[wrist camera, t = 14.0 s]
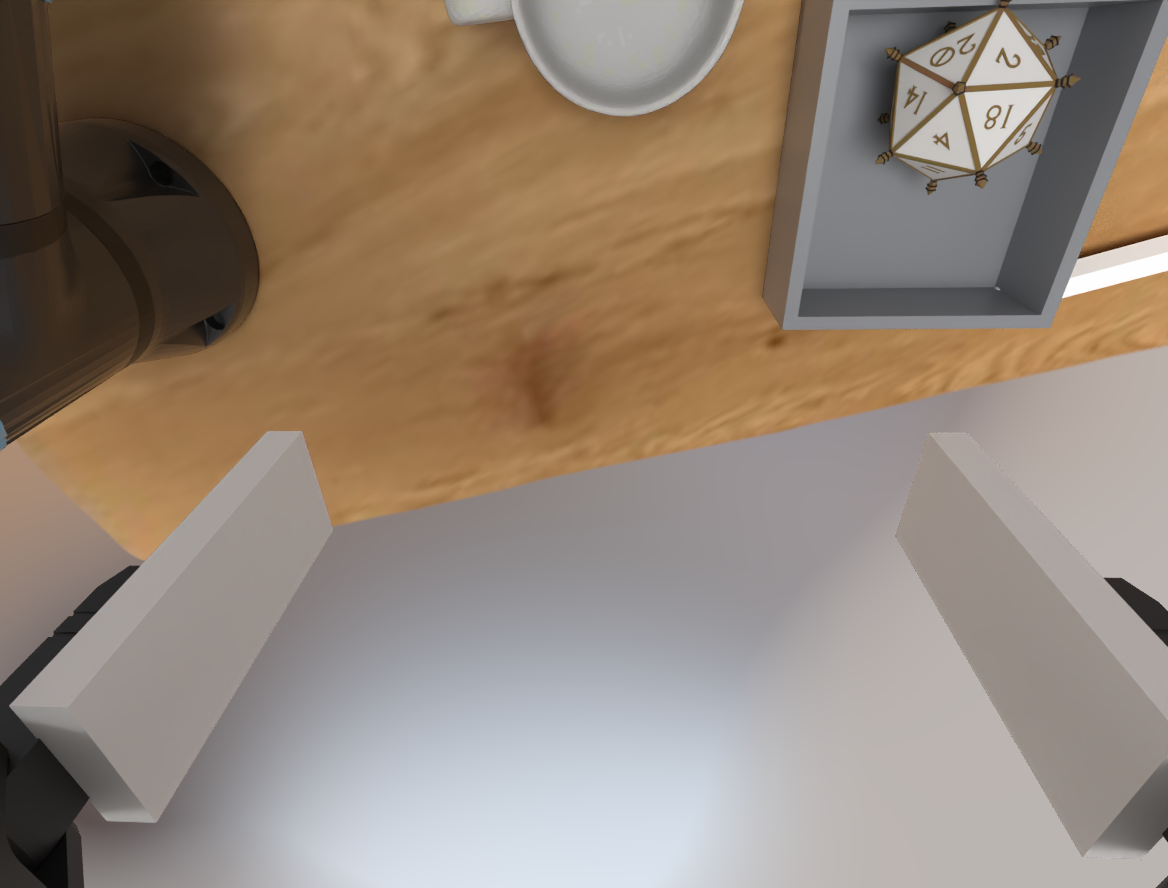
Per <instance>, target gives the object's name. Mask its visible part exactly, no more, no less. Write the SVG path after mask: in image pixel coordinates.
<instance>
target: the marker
mask: <svg viewBox="0 0 1168 888" xmlns="http://www.w3.org/2000/svg"><path fill="white" fill-rule="evenodd" d="M1164 271H1168V235H1165V236H1161V237H1157V238H1154V239H1150V240H1146V241H1143V242H1139V243H1135V244H1132V245H1128V246H1124V247H1121V248H1117V249H1113V250H1110V251H1106V252H1102V253H1099V254H1095V255H1091V256H1088V257H1084V258H1080V259H1077V262H1076V264H1075V267H1074V269H1073V272H1072V274H1071V277H1070V279H1069V282H1068V284H1067V287H1066V289H1065V292H1064V294H1063V297H1062V298H1065V297H1069V296H1073V295H1077V294H1081V293H1084V292H1088V291H1092V290H1096V289H1100V288H1103V287H1107V286H1111V285H1115V284H1119V283H1122V282H1126V281H1130V280H1134V279H1138V278H1142V277H1145V276H1149V275H1153V274H1157V273H1161V272H1164ZM994 288H995V289H997V290H1000V289H999V287H994Z"/></svg>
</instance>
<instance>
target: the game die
mask: <svg viewBox="0 0 1168 888" xmlns="http://www.w3.org/2000/svg"><path fill="white" fill-rule="evenodd" d="M1010 1H1012V0H1000V5H999V6H998V7H996V8H994V9H992V10H990V11H988V12H986V13H984V14H982V15H980V16H978V17H976V18H974V19H972V20H970V21H968V22H966V23H964V24H962V25H960V26H958V27H956V23H953V22H950V21H948V23H947V25H946V27H945V28H944V30H945V34H943V35H941V36H939V37H937V38H935V39H933V40H931V41H929V42H927V43H925V44H923V45H921V46H919V47H917V48H915V49H913V50H911V51H909V52H907V53H905V54H903V55H902V54H901V53H900V50H899V49H898V50H897V49H896V47H893V48H885V50H886V54H887V59H888V58H889V59H891V61H893V60H894V61H897V68H896V75H895V81H894V88H893V95H892V102H891V109H890V114H888V113H885V114H883V113H882V114H881V116H880V117H879V118H878V119H877V121H878V122H880V123H881V124H883V123H887V122H889V151H888V152H883V153H882V154H881V155H878V158H877V160H876V162H875V164H885V162H887V161H889V159H890V158H891V157H892V156H893V157H895V158H897V159H898V160H900V161H902V162H903V163H905V164H906V165H908V166H910V167H911V168H913V169H915V170H916V171H918V172H919V173H921V174H923V175H924V176H926V177H928V178H929V179H931V181H930V182H929V183H927V187H926V188H925V189H926V190H927V193H928V195H929V194H931V193H932V192H934V191H936V187H937V181H940V180H946V179H953V178H959V177H965V176H972V175H976V177H975V180H974V181H976V183H975V186H978V187H980V188H982V189H983V188H984V186H985V184H986V183H987V182H988V181H989V180H988V179H987V178H986V177H987V175H985V174H984V172H985V171H987V170H988V169H990V168H992V167H993V166H995V165H997V164H998V163H1000V162H1002V161H1003V160H1005V159H1007V158H1009V157H1010V156H1012V155H1014V154H1015V153H1017V152H1019V151H1020V150H1022V149H1024V148H1027V150H1028V152H1030V153H1031V155H1033V154H1042V151H1041V145H1042V144H1038V142H1035V143H1034V142H1032V139H1033V137H1034V134H1035V132H1036V130H1037V128H1038V126H1039V124H1040V122H1041V120H1042V118H1043V116H1044V114H1045V112H1046V110H1047V107H1048V105H1049V103H1050V101H1051V99H1052V97H1053V95H1054V93H1055V91H1056V89H1057V88H1058V87H1062V88H1063V89H1065V88H1066V87H1069V88H1071V87H1072V85H1073V84H1075V83H1076V82H1077V81H1079V80H1080V79H1081V78H1079V77H1077V76H1075V75H1074V73H1072V74H1070V75H1069V76H1067V75H1065V76H1064V77H1062V78H1061V79H1058V77H1057V74H1056V72H1055V69H1054V67H1053V64H1052V62H1051V59H1050V56H1049V54H1048V51H1047V49H1048V50H1050V49H1052V48H1054V47H1055V46H1057V45H1059V41H1060V39H1061V37H1062V36H1053V35H1051V37H1050V38H1049V39H1046V42H1045V43H1044V44H1043V43H1042V42H1041V41H1040V40H1039V39H1038V38H1037V37H1036V36H1035V35H1034V34H1033V33H1032V32H1031V31H1030V30H1029V29H1028V28H1027V27H1026V26H1025V25H1024V24H1023V23H1022V22H1021V21H1020V20H1019V19H1018V17H1017V16H1016V15H1015V14H1014V13H1013V12H1012V11H1011V10H1010V9H1009V8H1008V4H1009V3H1010Z"/></svg>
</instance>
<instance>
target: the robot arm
mask: <svg viewBox="0 0 1168 888" xmlns="http://www.w3.org/2000/svg"><path fill="white" fill-rule="evenodd" d="M47 3H50V4H52V0H0V451H1V450H2V449H4V448H5V447H6V446H7V445H8V444H10V443H11V442H13V441H14V440H16V439H17V438H19V437H20V436H22V435H23V434H25V433H26V432H28V431H29V430H31V429H32V428H34V427H36V426H37V425H39V424H40V423H42V422H43V421H45V420H46V419H48V418H49V417H51V416H52V415H54V414H55V413H57V412H58V411H60V410H61V409H63V408H64V407H66V406H67V405H69V404H71V403H72V402H74V401H75V400H77V399H78V398H80V397H81V396H83V395H84V394H86V393H87V392H89V391H90V390H92V389H93V388H95V387H96V386H98V385H99V384H101V383H102V382H104V381H106V380H107V379H109V378H110V377H112V376H113V375H115V374H116V373H117V372H119V371H121V370H122V369H124V368H125V367H127V366H129V365H130V364H133V363H139V362H146V361H152V360H158V359H164V358H171V357H177V356H183V355H188V354H192V353H196V352H198V351H201V350H203V349H206V348H208V347H210V346H212V345H214V344H215V343H217V342H218V341H220V340H221V339H223V338H224V337H225V336H227V335H228V334H230V333H231V332H232V331H234V330H235V329H236V328H237V327H238V326H239V325H240V324H241V323H242V322H243V321H244V320H245V318H246V317H247V315H248V314H249V312H250V310H251V308H252V306H253V303H254V300H255V297H256V293H257V288H258V261H257V255H256V250H255V246H254V242H253V239H252V236H251V233H250V231H249V228H248V226H247V224H246V222H245V220H244V217H243V215H242V214H241V212H240V210H239V208H238V206H237V205H236V203H235V202H234V200H233V199H232V197H231V196H230V194H229V193H228V192H227V190H226V189H225V188H224V186H223V185H222V184H221V183H220V181H219V180H218V179H217V178H216V177H215V176H214V175H213V174H212V173H211V172H210V171H209V170H208V169H207V168H206V167H205V166H204V165H203V164H202V163H201V162H200V161H199V160H198V159H197V158H195V157H194V156H193V155H192V154H190V153H189V152H188V151H186V150H185V149H184V148H182V147H181V146H179V145H178V144H176V143H175V142H173V141H172V140H170V139H168V138H166V137H165V136H163V135H161V134H159V133H157V132H155V131H153V130H150V129H148V128H145V127H143V126H140V125H137V124H134V123H130V122H126V121H122V120H116V119H108V118H91V119H81V120H73V121H65V122H59V123H58V116H57V105H56V94H55V84H54V73H53V62H52V52H51V41H50V30H49V19H48V9H47ZM332 531H333V528H332V525H331V521H330V518H329V515H328V512H327V509H326V506H325V503H324V499H323V496H322V493H321V490H320V487H319V484H318V480H317V477H316V474H315V471H314V468H313V465H312V461H311V458H310V455H309V452H308V449H307V446H306V442H305V439H304V436H303V433H302V431H267V432H266V433H265V434H264V435H263V436H262V437H261V439H260V440H259V441H258V442H257V443H256V444H255V445H254V446H253V447H252V448H251V449H250V450H249V451H248V452H247V453H246V454H245V456H244V457H243V458H242V459H241V460H240V461H239V462H238V463H237V464H236V465H235V466H234V467H233V468H232V469H231V470H230V471H229V473H228V474H227V475H226V476H225V477H224V478H223V479H222V480H221V481H220V482H219V483H218V484H217V485H216V486H215V487H214V489H213V490H212V491H211V492H210V493H209V494H208V495H207V496H206V497H205V498H204V499H203V500H202V501H201V502H200V503H199V504H198V506H197V507H196V508H195V509H194V510H193V511H192V512H191V513H190V514H189V515H188V516H187V517H186V518H185V519H184V520H183V521H182V523H181V524H180V525H179V526H178V527H177V528H176V529H175V530H174V531H173V532H172V533H171V534H170V535H169V536H168V537H167V538H166V540H165V541H164V542H163V543H162V544H161V545H160V546H159V547H158V548H157V549H156V550H155V551H154V552H153V553H152V554H151V555H150V557H149V558H148V559H147V560H146V561H145V562H144V563H143V564H142V565H141V566H129V567H127V568H126V569H124V570H123V571H121V572H120V573H118V574H117V575H115V576H114V577H112V578H110V579H109V580H107V581H106V582H104V583H103V584H101V585H100V586H98V587H97V588H96V589H95V590H94V591H93V592H92V593H91V594H90V595H89V596H88V597H87V598H86V599H85V600H84V601H83V602H82V604H80V605H79V606H78V607H77V609H75V610H74V615H73V616H69V617H68V618H67V619H66V620H65V621H64V622H63V623H62V624H61V625H60V626H59V627H58V628H57V629H56V630H55V631H54V635H53V637H48V638H47V639H46V640H45V641H44V642H43V643H42V644H41V645H40V646H39V647H38V648H37V649H36V650H35V651H34V652H33V653H32V654H31V655H30V656H29V657H28V658H27V659H26V660H25V661H24V662H23V663H22V664H21V665H20V666H19V667H18V668H17V669H16V670H15V671H14V672H13V674H11V675H10V676H9V677H8V679H7V680H6V681H5V682H4V683H3V684H2V685H1V686H0V888H84V878H83V863H82V846H81V836H80V833H79V831H78V828H77V826H76V824H75V823H74V822H73V820H74V819H75V817H76V816H77V815H78V813H79V812H80V811H81V809H82V807H83V806H84V805H85V804H86V802H87V801H88V799H89V801H90V802H91V803H92V804H93V805H94V806H95V808H96V809H97V810H98V811H99V812H100V813H101V815H102V816H103V817H104V818H105V819H106V820H107V821H124V822H153V823H156V822H157V821H158V819H159V818H160V816H161V814H162V813H163V811H164V809H165V808H166V806H167V804H168V803H169V801H170V799H171V798H172V796H173V794H174V793H175V791H176V789H177V788H178V786H179V784H180V783H181V781H182V779H183V778H184V776H185V775H186V773H187V771H188V770H189V768H190V766H191V765H192V763H193V761H194V759H195V758H196V756H197V755H198V753H199V751H200V750H201V748H202V746H203V745H204V743H205V741H206V740H207V738H208V736H209V735H210V733H211V731H212V730H213V728H214V726H215V725H216V723H217V722H218V720H219V718H220V717H221V715H222V713H223V712H224V710H225V708H226V707H227V705H228V703H229V702H230V700H231V698H232V697H233V695H234V693H235V692H236V690H237V688H238V687H239V685H240V683H241V682H242V680H243V678H244V677H245V675H246V673H247V672H248V670H249V668H250V667H251V665H252V663H253V662H254V660H255V659H256V657H257V655H258V654H259V652H260V650H261V649H262V647H263V645H264V644H265V642H266V640H267V639H268V637H269V635H270V634H271V632H272V630H273V629H274V627H275V625H276V624H277V622H278V620H279V619H280V617H281V615H282V614H283V612H284V611H285V609H286V607H287V606H288V604H289V602H290V601H291V599H292V597H293V595H294V594H295V592H296V591H297V589H298V587H299V586H300V584H301V582H302V581H303V579H304V577H305V576H306V574H307V572H308V571H309V569H310V568H311V566H312V564H313V563H314V561H315V559H316V558H317V556H318V554H319V552H320V551H321V549H322V548H323V546H324V544H325V543H326V541H327V539H328V538H329V536H330V534H331V533H332ZM896 538H897V540H898V541H899V543H900V545H901V547H902V548H903V550H904V552H905V554H906V555H907V557H908V559H909V560H910V562H911V564H912V566H913V567H914V569H915V571H916V572H917V574H918V576H919V578H920V579H921V581H922V583H923V584H924V586H925V588H926V589H927V591H928V593H929V595H930V596H931V598H932V600H933V601H934V603H935V605H936V607H937V609H938V610H939V612H940V614H941V615H942V617H943V619H944V621H945V622H946V624H947V626H948V627H949V629H950V631H951V632H952V634H953V636H954V638H955V639H956V641H957V643H958V645H959V646H960V648H961V650H962V652H963V653H964V655H965V657H966V658H967V660H968V662H969V663H970V665H971V667H972V669H973V670H974V672H975V674H976V676H977V677H978V679H979V681H980V682H981V684H982V686H983V687H984V689H985V691H986V693H987V694H988V696H989V698H990V700H991V701H992V703H993V705H994V706H995V708H996V710H997V712H998V713H999V715H1000V717H1001V719H1002V720H1003V722H1004V724H1005V725H1006V727H1007V729H1008V730H1009V732H1010V734H1011V735H1012V737H1013V739H1014V741H1015V743H1016V744H1017V746H1018V748H1019V749H1020V751H1021V753H1022V755H1023V756H1024V758H1025V760H1026V761H1027V763H1028V765H1029V767H1030V768H1031V770H1032V772H1033V773H1034V775H1035V777H1036V779H1037V780H1038V782H1039V784H1040V785H1041V787H1042V789H1043V791H1044V792H1045V794H1046V796H1047V798H1048V799H1049V801H1050V803H1051V804H1052V806H1053V808H1054V809H1055V811H1056V813H1057V815H1058V816H1059V818H1060V820H1061V822H1062V823H1063V825H1064V827H1065V829H1066V830H1067V832H1068V834H1069V835H1070V837H1071V839H1072V840H1073V842H1074V844H1075V846H1076V847H1077V849H1078V851H1079V853H1080V854H1081V856H1082V857H1086V858H1088V857H1089V858H1113V859H1140V860H1141V859H1142V858H1143V857H1144V856H1145V855H1146V854H1147V853H1148V852H1149V851H1150V849H1152V847H1153V846H1154V845H1155V844H1156V843H1157V842H1158V841H1159V840H1160V839H1161V838H1162V837H1163V836H1164V838H1165V839H1166V841H1167V842H1168V611H1167V610H1166V609H1165V608H1164V607H1163V606H1162V605H1161V604H1160V603H1159V602H1158V601H1156V600H1155V599H1153V598H1151V597H1150V596H1148V595H1147V594H1145V593H1144V592H1142V591H1140V590H1139V589H1138V588H1136V587H1135V586H1133V585H1131V584H1130V583H1128V582H1127V581H1125V580H1124V579H1122V578H1103V577H1102V576H1101V575H1100V574H1099V573H1098V572H1097V571H1096V570H1095V569H1094V568H1093V567H1092V566H1091V564H1090V563H1089V562H1088V561H1087V560H1086V559H1085V558H1084V557H1083V556H1082V555H1081V554H1080V553H1079V552H1078V551H1077V550H1076V549H1075V547H1074V546H1073V545H1072V544H1071V543H1070V542H1069V541H1068V540H1067V539H1066V538H1065V537H1064V536H1063V535H1062V534H1061V532H1060V531H1059V530H1058V529H1057V528H1056V527H1055V526H1054V525H1053V524H1052V523H1051V522H1050V521H1049V520H1048V519H1047V517H1046V516H1044V514H1043V513H1042V512H1041V511H1040V510H1039V509H1038V508H1037V507H1036V506H1035V505H1034V504H1033V502H1032V501H1031V500H1030V499H1029V498H1028V497H1027V496H1026V495H1025V494H1024V493H1023V492H1022V491H1021V490H1020V489H1019V487H1018V486H1016V485H1015V483H1014V482H1013V481H1012V480H1011V479H1010V478H1009V477H1008V476H1007V475H1006V474H1005V473H1004V472H1003V470H1002V469H1001V468H1000V467H999V466H998V465H997V464H996V463H995V462H994V461H993V460H992V459H991V458H990V456H989V455H988V454H987V453H986V452H985V451H984V450H983V449H982V448H981V447H980V446H979V445H978V444H977V443H976V441H975V440H974V439H972V437H971V436H970V435H969V434H968V433H928V436H927V439H926V442H925V445H924V448H923V451H922V454H921V457H920V461H919V464H918V467H917V470H916V473H915V476H914V479H913V482H912V486H911V489H910V492H909V495H908V498H907V501H906V504H905V508H904V511H903V514H902V517H901V520H900V523H899V526H898V529H897V533H896ZM1156 888H1168V876H1167V877H1166V878H1165V879H1164V880H1163V881H1162V882H1161V883H1160V884H1159V885H1158V886H1157V887H1156Z"/></svg>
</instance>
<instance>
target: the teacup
mask: <svg viewBox="0 0 1168 888" xmlns="http://www.w3.org/2000/svg"><path fill="white" fill-rule="evenodd" d="M743 2H744V0H445V5H446V9H447V13H448V16H449V18H450V20H451V22H452V23H453V24H454V25H456V26H466V25H475V24H485V23H491V22H500V21H506V20H512V19H514V21H515V24H516V26H517V29H518V32H519V35H520V37H521V39H522V42H523V44H524V47H525V49H526V51H527V53H528V55H529V56H530V58H531V60H532V62H533V63H534V65H535V66H536V68H537V69H538V70H539V72H540V73H541V75H542V76H543V77H544V78H545V79H546V81H547V82H548V83H549V84H550V85H551V86H552V87H553V88H554V89H555V90H556V91H557V92H559V93H560V94H561V95H563V96H564V97H565V98H567V99H568V100H570V101H572V102H573V103H575V104H577V105H579V106H581V107H583V108H585V109H587V110H590V111H593V112H598V113H602V114H606V115H611V116H636V115H641V114H646V113H649V112H652V111H655V110H658V109H660V108H663V107H665V106H667V105H669V104H671V103H673V102H675V101H677V100H678V99H680V98H681V97H683V96H684V95H685V94H687V93H688V92H690V91H691V90H692V89H693V88H694V87H695V86H696V85H697V84H698V83H699V82H700V81H701V80H702V79H703V78H704V77H705V76H706V75H707V74H708V73H709V72H710V71H711V69H712V68H713V67H714V65H715V64H716V63H717V61H718V60H719V59H720V57H721V55H722V54H723V52H724V50H725V48H726V46H727V44H728V43H729V41H730V38H731V36H732V34H733V32H734V30H735V28H736V25H737V22H738V18H739V15H740V12H741V9H742V6H743Z"/></svg>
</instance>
